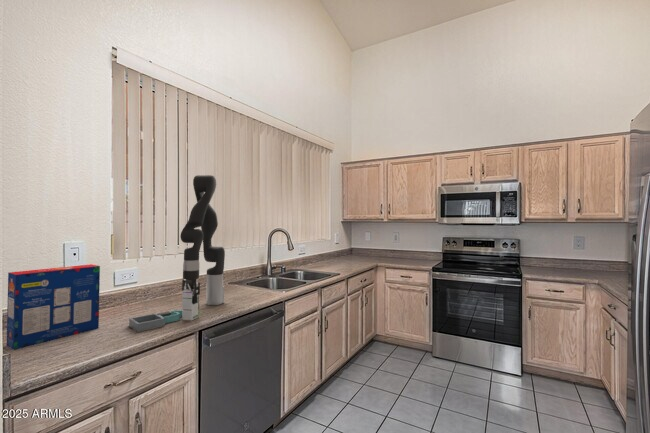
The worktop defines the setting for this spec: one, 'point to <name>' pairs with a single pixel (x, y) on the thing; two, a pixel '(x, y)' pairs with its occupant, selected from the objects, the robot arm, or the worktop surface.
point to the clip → (171, 318)
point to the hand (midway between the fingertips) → (190, 301)
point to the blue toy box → (51, 304)
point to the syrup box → (189, 306)
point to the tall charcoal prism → (164, 314)
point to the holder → (146, 322)
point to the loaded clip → (177, 312)
